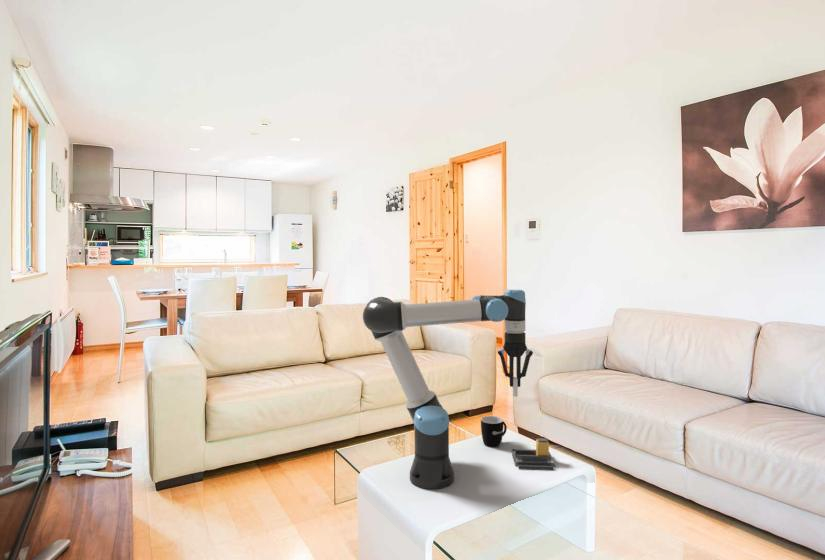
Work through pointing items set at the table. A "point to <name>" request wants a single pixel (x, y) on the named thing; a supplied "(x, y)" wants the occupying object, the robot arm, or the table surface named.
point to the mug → (492, 430)
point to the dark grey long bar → (536, 467)
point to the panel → (531, 458)
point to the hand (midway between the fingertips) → (514, 395)
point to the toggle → (542, 446)
